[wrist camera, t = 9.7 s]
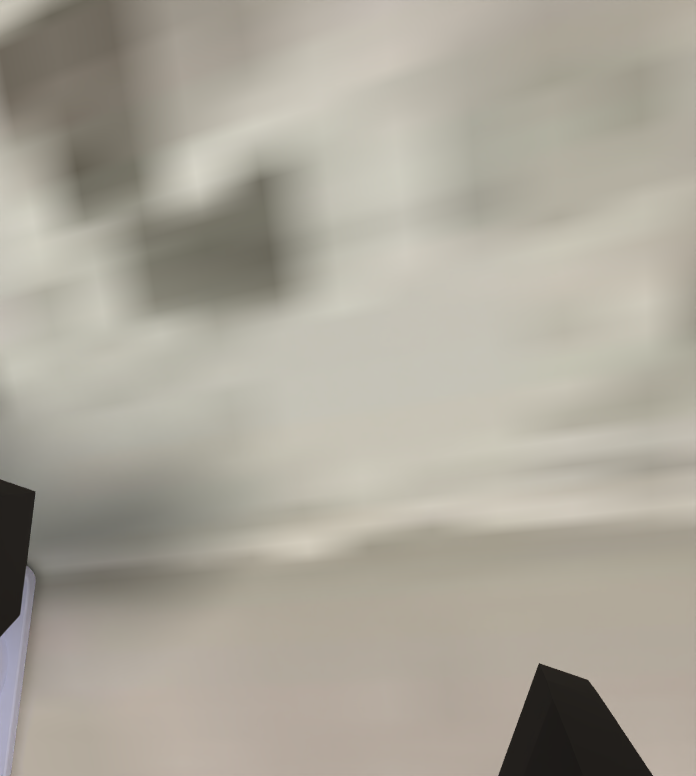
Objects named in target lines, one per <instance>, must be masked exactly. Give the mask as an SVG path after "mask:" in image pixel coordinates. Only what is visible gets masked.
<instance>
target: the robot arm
mask: <svg viewBox="0 0 696 776" xmlns="http://www.w3.org/2000/svg"><path fill="white" fill-rule="evenodd" d="M34 500H35V491H32V490H29V489H27V488H24V487H21V486H18V485H15V484H12V483H9V482H6V481H3V480H0V776H11V768H12V761H13V753H14V745H15V737H16V730H17V722H18V714H19V707H20V699H21V691H22V684H23V676H24V668H25V661H26V653H27V645H28V637H29V630H30V622H31V614H32V607H33V599H34V591H35V584H36V580H35V575H34V573H33V571H32V570H31V569H30V568H29V567H28V566H26V564H27V556H28V548H29V540H30V532H31V524H32V516H33V508H34ZM498 776H653V775H652V773H651V772H650V771H649V769H648V768H647V766H646V765H645V763H644V762H643V760H642V759H641V757H640V756H639V754H638V753H637V751H636V750H635V748H634V747H633V745H632V744H631V742H630V741H629V739H628V738H627V736H626V735H625V733H624V732H623V730H622V729H621V727H620V726H619V724H618V723H617V721H616V720H615V718H614V717H613V715H612V714H611V712H610V711H609V709H608V708H607V706H606V705H605V703H604V702H603V700H602V699H601V697H600V696H599V694H598V693H597V691H596V690H595V689H594V687H593V686H592V685H591V683H590V682H589V681H588V680H586V679H584V678H581V677H578V676H575V675H572V674H569V673H566V672H563V671H560V670H557V669H554V668H551V667H548V666H545V665H542V664H540V663H539V665H538V668H537V670H536V673H535V676H534V679H533V681H532V684H531V687H530V690H529V692H528V695H527V698H526V701H525V703H524V706H523V709H522V712H521V714H520V717H519V720H518V723H517V726H516V728H515V731H514V734H513V737H512V739H511V742H510V745H509V748H508V750H507V753H506V756H505V759H504V761H503V764H502V767H501V770H500V772H499V775H498Z"/></svg>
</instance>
